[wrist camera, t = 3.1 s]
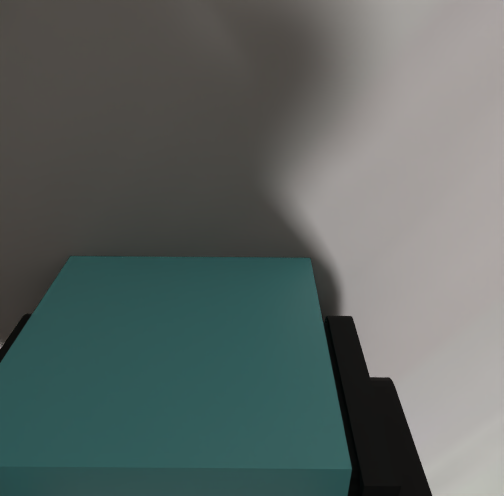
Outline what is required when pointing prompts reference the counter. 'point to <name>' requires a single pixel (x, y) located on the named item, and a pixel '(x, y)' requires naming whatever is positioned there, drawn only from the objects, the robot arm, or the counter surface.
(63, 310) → the cube
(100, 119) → the counter surface
